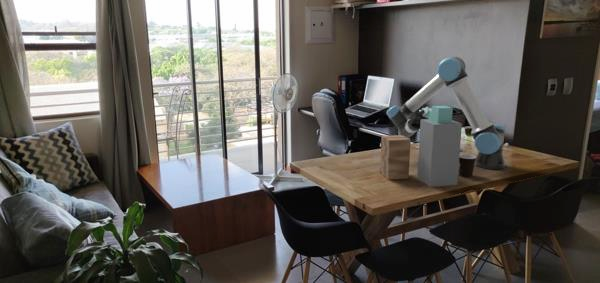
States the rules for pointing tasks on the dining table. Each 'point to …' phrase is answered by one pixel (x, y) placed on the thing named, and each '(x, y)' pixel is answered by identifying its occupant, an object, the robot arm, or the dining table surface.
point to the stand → (439, 153)
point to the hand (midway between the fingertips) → (432, 108)
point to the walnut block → (395, 156)
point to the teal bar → (440, 114)
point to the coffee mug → (466, 165)
